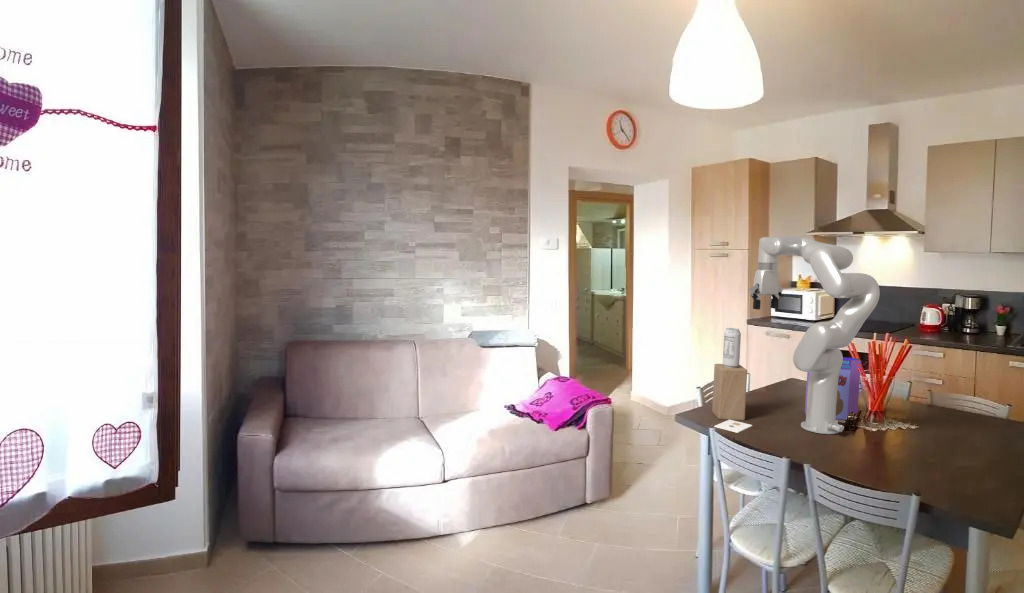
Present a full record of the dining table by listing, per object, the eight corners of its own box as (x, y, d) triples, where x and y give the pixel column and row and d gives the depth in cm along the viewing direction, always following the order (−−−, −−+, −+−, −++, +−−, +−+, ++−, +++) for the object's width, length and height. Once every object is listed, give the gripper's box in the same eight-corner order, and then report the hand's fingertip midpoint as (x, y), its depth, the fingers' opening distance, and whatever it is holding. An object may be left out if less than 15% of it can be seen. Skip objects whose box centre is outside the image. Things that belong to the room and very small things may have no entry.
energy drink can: (742, 367, 221) (744, 329, 220) (730, 368, 219) (732, 330, 218) (731, 364, 227) (733, 327, 225) (719, 365, 225) (721, 327, 223)
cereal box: (807, 417, 226) (811, 357, 223) (804, 413, 230) (808, 355, 228) (856, 421, 222) (861, 360, 219) (852, 417, 226) (856, 357, 224)
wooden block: (737, 413, 230) (739, 364, 228) (745, 420, 220) (747, 369, 218) (711, 412, 231) (714, 363, 229) (718, 419, 221) (720, 368, 219)
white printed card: (752, 425, 214) (752, 424, 214) (737, 432, 206) (737, 431, 206) (729, 420, 220) (729, 419, 220) (714, 426, 212) (714, 425, 212)
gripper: (775, 266, 241) (773, 307, 242) (744, 267, 234) (742, 308, 235) (790, 267, 234) (788, 309, 235) (758, 267, 227) (756, 310, 229)
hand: (765, 308), depth 235 cm, fingers open, 9 cm apart
